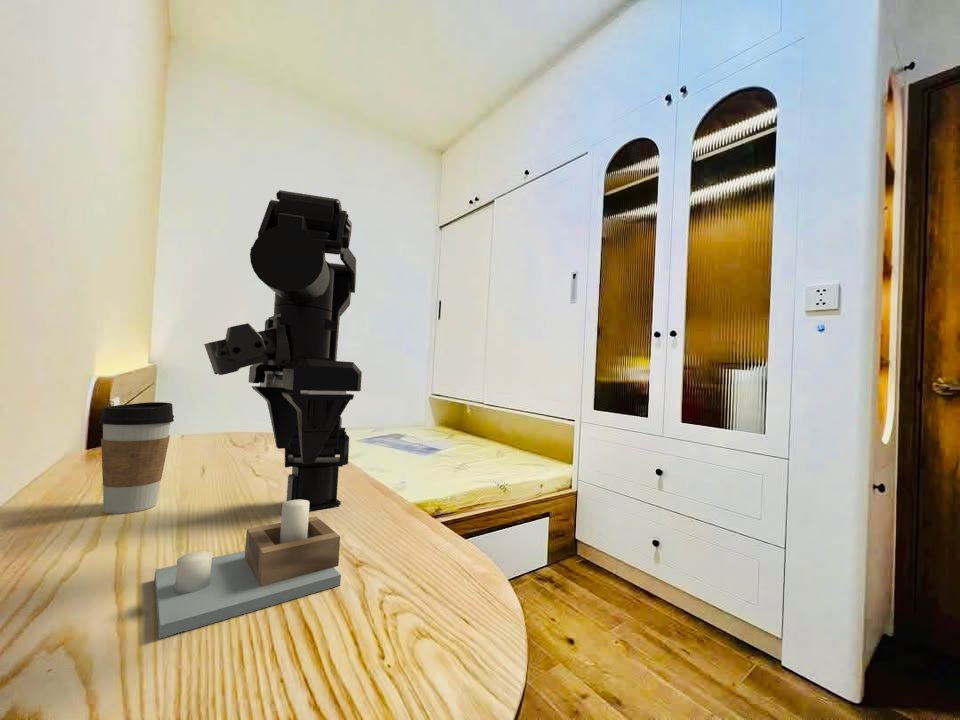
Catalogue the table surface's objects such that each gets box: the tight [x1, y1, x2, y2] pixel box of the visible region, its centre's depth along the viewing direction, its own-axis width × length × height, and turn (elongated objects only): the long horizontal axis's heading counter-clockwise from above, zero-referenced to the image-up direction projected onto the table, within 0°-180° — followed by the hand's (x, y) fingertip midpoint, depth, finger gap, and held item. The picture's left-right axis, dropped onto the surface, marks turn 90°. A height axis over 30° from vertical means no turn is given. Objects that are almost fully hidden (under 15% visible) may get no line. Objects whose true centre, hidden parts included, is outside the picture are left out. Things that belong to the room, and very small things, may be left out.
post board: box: [154, 500, 342, 640], centre depth 40 cm, size 14×11×7 cm
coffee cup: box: [99, 401, 175, 515], centre depth 59 cm, size 8×8×15 cm
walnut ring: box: [244, 515, 341, 586], centre depth 42 cm, size 7×7×3 cm
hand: (293, 455), depth 43 cm, fingers open, 9 cm apart
